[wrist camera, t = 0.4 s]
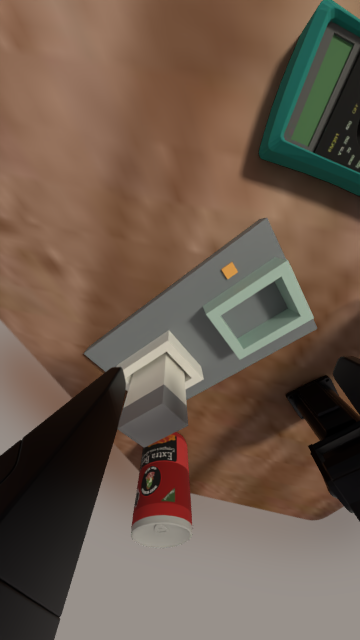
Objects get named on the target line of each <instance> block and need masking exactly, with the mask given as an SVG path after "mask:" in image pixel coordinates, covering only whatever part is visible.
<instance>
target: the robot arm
mask: <svg viewBox="0 0 360 640" xmlns="http://www.w3.org/2000/svg"><path fill="white" fill-rule="evenodd" d="M333 376H334V378H335V380H336V381H337V383H338V384H339V386H340V387H341V389H342V390H343V392H344V393H345V394H346V396H347V397H348V399H349V400H350V402H351V403H352V405H353V406H354V408H355V409H356V410H357V412H358V413H359V414H360V359H359V358H356V357H353V356H344V357H340V358H339V359H338V361H337V364H336V366H335V369H334V371H333ZM125 389H126V381H125V376H124V372H123V369H122V367H112V368H110V369H109V370H108V371H106V372H105V373H104V374H103V375H101V376H100V377H99V378H98V379H96V380H95V381H94V382H93V383H91V384H90V385H89V386H88V387H86V388H85V389H84V390H83V391H81V392H80V393H79V394H77V395H76V396H75V397H74V398H72V399H71V400H70V401H69V402H68V403H66V404H65V405H64V406H62V407H61V408H60V409H59V410H57V411H56V412H55V413H54V414H53V415H51V416H50V417H49V418H47V419H46V420H45V421H44V422H42V423H41V424H40V425H39V426H37V427H36V428H35V429H33V430H32V431H31V432H30V433H29V434H27V435H26V436H25V437H24V438H23V439H22V440H20V441H18V442H17V443H16V444H15V445H13V446H12V447H11V448H9V449H8V450H7V451H6V452H4V453H3V454H2V455H1V456H0V640H54V638H55V635H56V631H57V628H58V625H59V621H60V618H59V617H60V616H61V614H62V611H63V608H64V604H65V601H66V598H67V594H68V591H69V588H70V584H71V581H72V577H73V574H74V571H75V568H76V564H77V561H78V558H79V554H80V551H81V548H82V544H83V541H84V538H85V535H86V531H87V528H88V525H89V521H90V518H91V515H92V511H93V508H94V505H95V502H96V498H97V495H98V492H99V488H100V485H101V482H102V478H103V475H104V472H105V468H106V465H107V462H108V459H109V455H110V452H111V449H112V445H113V442H114V439H115V435H116V432H117V428H118V425H119V420H120V415H121V410H122V405H123V399H124V394H125ZM286 397H287V399H288V400H289V402H290V403H291V405H292V406H293V408H294V409H295V411H296V412H297V414H298V415H299V417H300V418H301V419H305V420H306V421H307V423H308V424H309V426H310V427H311V429H312V430H313V431H314V433H315V434H316V436H317V437H318V438H319V440H320V441H319V442H317V443H315V444H313V445H312V444H311V445H309V446H308V447H309V449H310V451H311V455H312V457H313V459H314V461H315V462H316V464H317V466H318V468H319V470H320V472H321V474H322V476H323V479H324V481H325V484H326V486H327V489H328V491H329V492H330V494H331V495H332V496H333V497H335V498H337V499H338V500H339V501H340V502H341V503H342V504H343V505H344V506H345V508H346V509H347V510H348V511H349V512H351V513H354V514H355V515H356V516H357V518H358V520H359V521H360V416H359V415H358V414H357V413H356V412H355V411H354V410H353V409H352V408H351V407H350V406H349V405H348V404H347V403H346V402H345V401H343V400H342V399H341V398H340V397H339V395H338V393H337V391H336V389H335V387H334V385H333V383H332V380H331V379H330V378H329V377H328V376H324V377H322V378H320V379H317V380H315V381H313V382H311V383H309V384H307V385H305V386H303V387H301V388H299V389H297V390H294V391H292V392H290V393H288V394H287V395H286Z"/></svg>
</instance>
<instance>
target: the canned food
mask: <svg viewBox="0 0 360 640" xmlns="http://www.w3.org/2000/svg"><path fill="white" fill-rule="evenodd" d="M191 537H192V514H191V498H190V482H189V467H188V452H187V444H186V441H185V439H184V438H183V436H181V435H180V434H178V433H177V432H174V433H173V434H171V435H169V436H167V437H165V438H163V439H161V440H159V441H157V442H155V443H153V444H151V445H149V446H147V447H145V448H144V447H143V453H142V459H141V466H140V473H139V481H138V486H137V493H136V500H135V506H134V513H133V521H132V532H131V538H132V539H133V540H134V541H135V542H136V543H138V544H140V545H143V546H146V547H153V548H168V547H174V546H178V545H181V544H183V543H185V542H187V541H188V540H189V539H190V538H191Z"/></svg>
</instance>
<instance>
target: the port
mask: <svg viewBox="0 0 360 640" xmlns="http://www.w3.org/2000/svg"><path fill="white" fill-rule="evenodd" d="M274 281H275V283H276V285H277V287H278V289H279V291H280V293H281V295H282V297H283V299H284V301H285V303H286V305H287V307H288V309H286V310H284V311H283V312H281V313H279V314H278V315H276V316H274V317H273V318H271V319H269V320H268V321H266V322H264V323H262V324H261V325H259V326H257V327H256V328H254V329H252V330H251V331H249V332H247V333H246V334H244V335H242V336H241V337H239V338H236V336H235V335H234V334H233V332H232V331H231V329H230V328H229V326H228V325H227V324H226V322H225V321H224V319H223V318H222V316H221V315H222V314H224V313H226V312H227V311H229V310H230V309H232V308H233V307H235V306H236V305H238V304H240V303H241V302H243V301H244V300H246V299H247V298H249V297H250V296H252V295H253V294H255V293H257V292H258V291H260V290H261V289H263V288H264V287H266V286H267V285H269V284H271V283H272V282H274ZM203 308H204V311H205V313H206V315H207V316H208V318H209V319H210V320H211V322H212V323H213V324H214V326H215V327H216V328H217V330H218V331H219V333H220V334H221V335H222V337H223V338H224V339H225V341H226V342H227V343H228V345H229V346H230V347H231V349H232V350H233V351H234V353H235V354H236V355H237V357H238V358H239V360H240V359H242V358H244V357H246V356H248V355H249V354H251V353H253V352H255V351H256V350H258V349H260V348H262V347H264V346H265V345H267V344H269V343H271V342H272V341H274V340H276V339H278V338H280V337H281V336H283V335H285V334H287V333H288V332H290V331H292V330H294V329H296V328H297V327H299V326H301V325H303V324H305V323H306V322H308V321H310V320H312V319H313V318H314V317H313V315H312V312H311V310H310V308H309V306H308V304H307V301H306V299H305V297H304V295H303V293H302V290H301V288H300V286H299V284H298V281H297V279H296V277H295V275H294V273H293V270H292V268H291V266H290V264H289V261H288V260H286V259H281V258H276V257H274V258H273V259H271V260H270V261H269V262H267V263H266V264H264V265H263V266H261V267H260V268H258V269H257V270H255V271H254V272H252V273H251V274H249V275H248V276H246V277H245V278H243V279H242V280H240V281H239V282H238V283H236V284H235V285H233V286H232V287H230V288H229V289H227V290H226V291H224V292H223V293H221V294H220V295H218V296H217V297H215V298H214V299H212V300H211V301H209V302H208V303H207V304H205V305H204V306H203Z"/></svg>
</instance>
